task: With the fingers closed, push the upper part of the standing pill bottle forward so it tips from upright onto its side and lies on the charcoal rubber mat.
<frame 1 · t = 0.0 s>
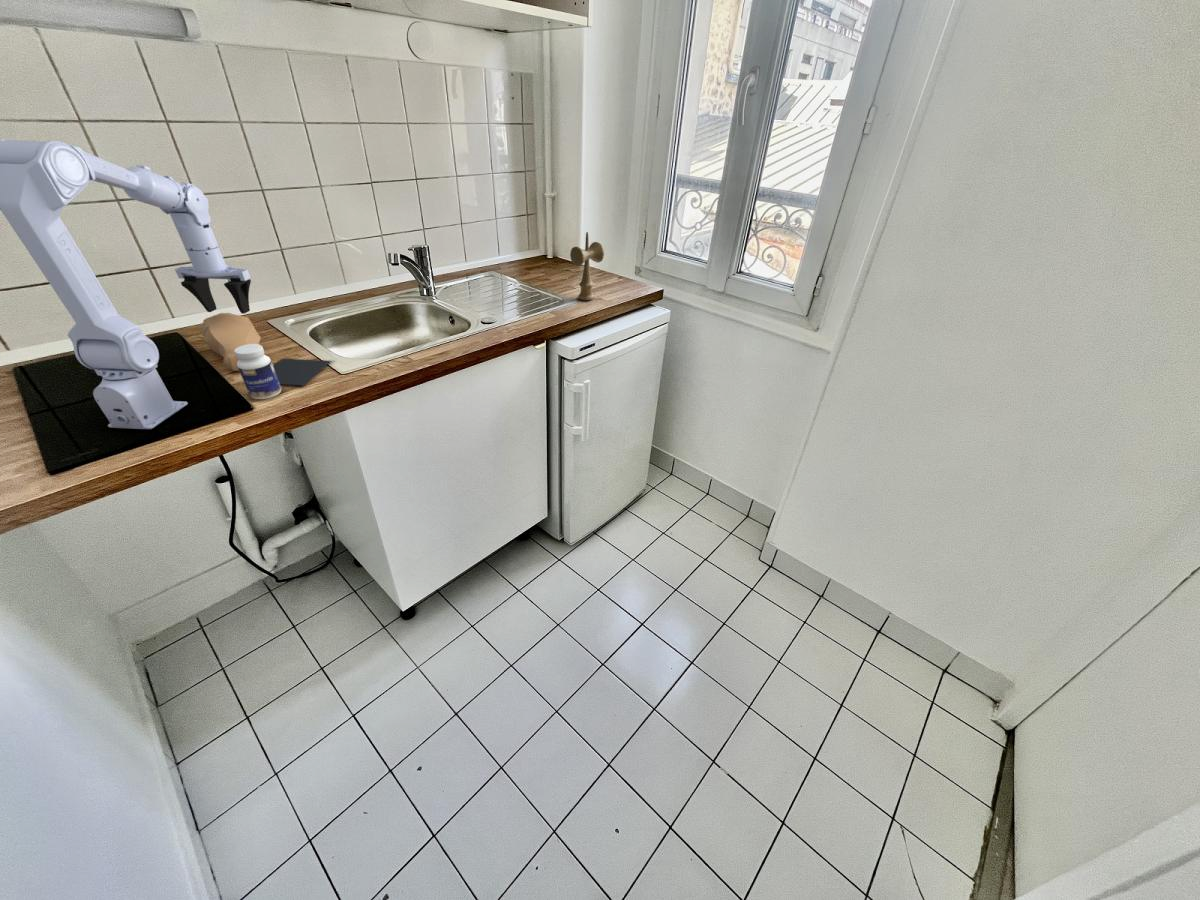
hand: (228, 311, 109), 10 cm above the table, tool pointing down, fingers open, 7 cm apart
kendama: (586, 299, 155), on the table
pill bottle: (267, 394, 100), on the table
squash: (241, 357, 113), on the table
mat: (292, 372, 107), on the table
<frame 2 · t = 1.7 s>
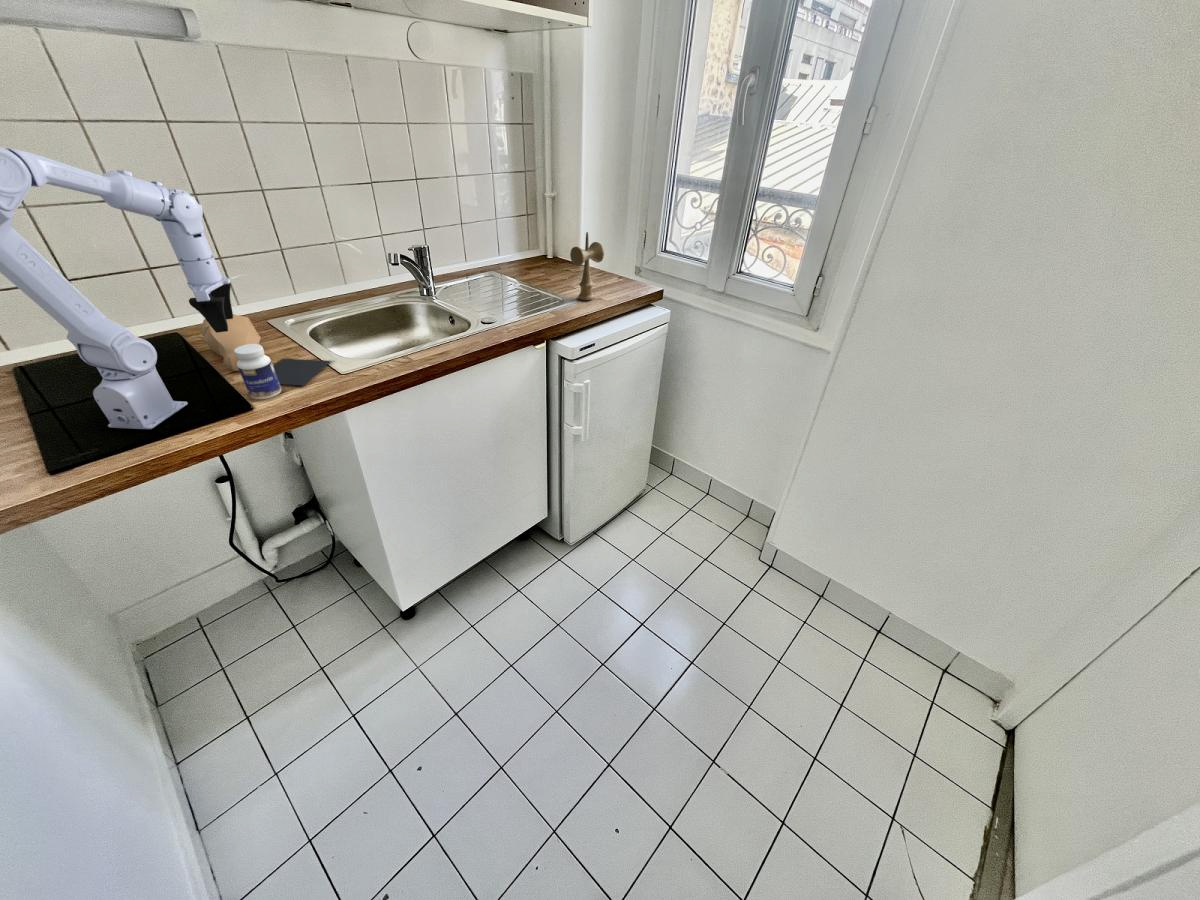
hand: (224, 325, 102), 10 cm above the table, tool pointing down, fingers open, 7 cm apart
nothing on the table moved.
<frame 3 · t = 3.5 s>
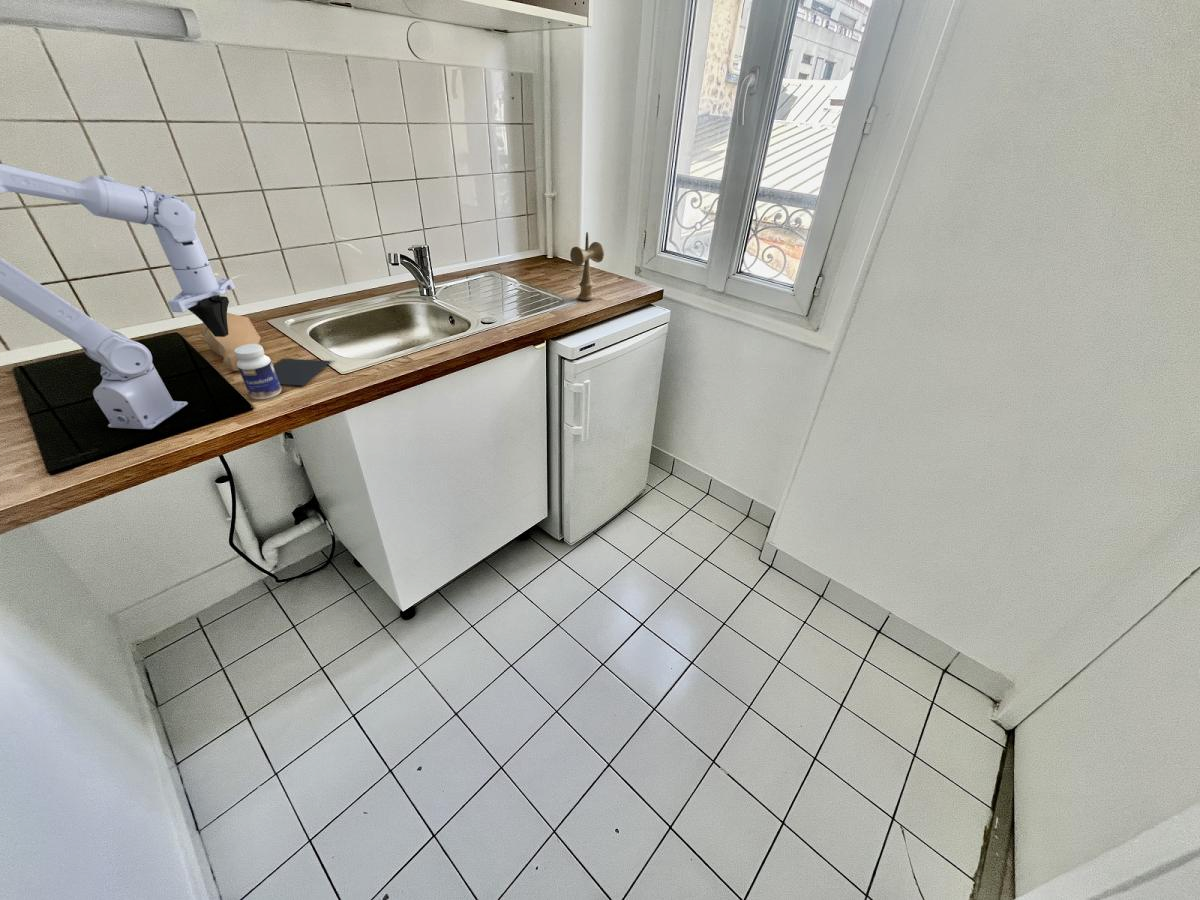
hand: (221, 335, 97), 10 cm above the table, tool pointing down, fingers closed
nothing on the table moved.
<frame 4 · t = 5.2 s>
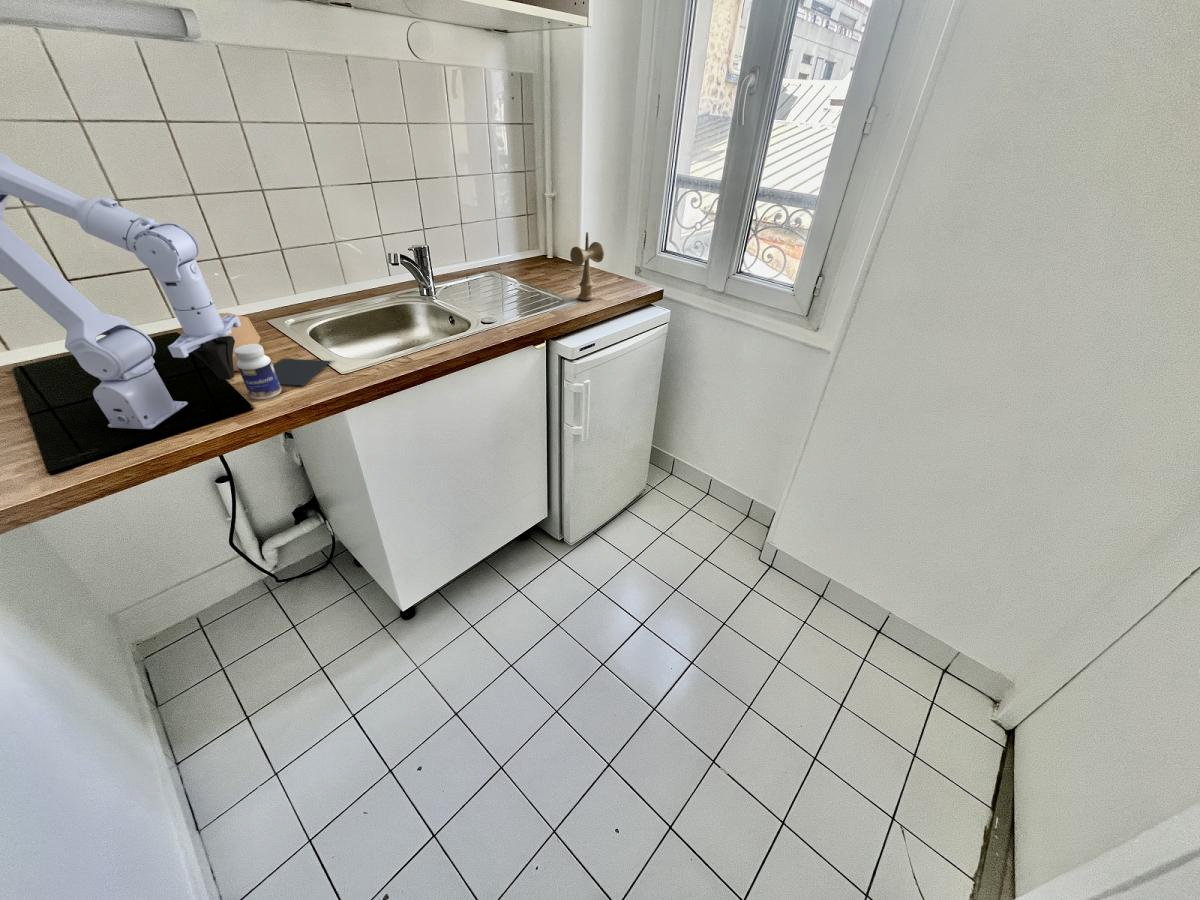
hand: (227, 377, 89), 7 cm above the table, tool pointing down, fingers closed
nothing on the table moved.
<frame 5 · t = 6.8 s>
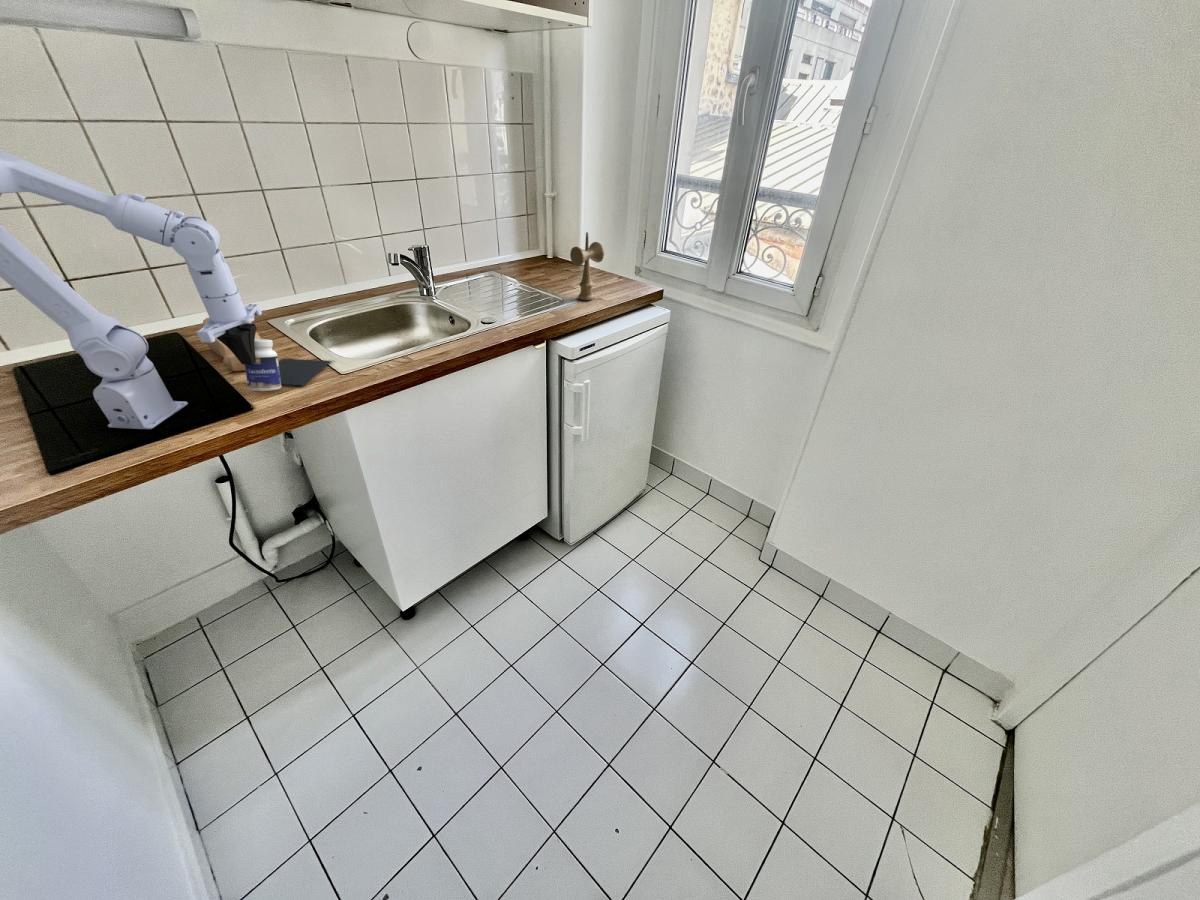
hand: (248, 363, 94), 7 cm above the table, tool pointing down, fingers closed
pill bottle: (265, 390, 99), point 1 cm above the table, touching gripper
everything else where it was.
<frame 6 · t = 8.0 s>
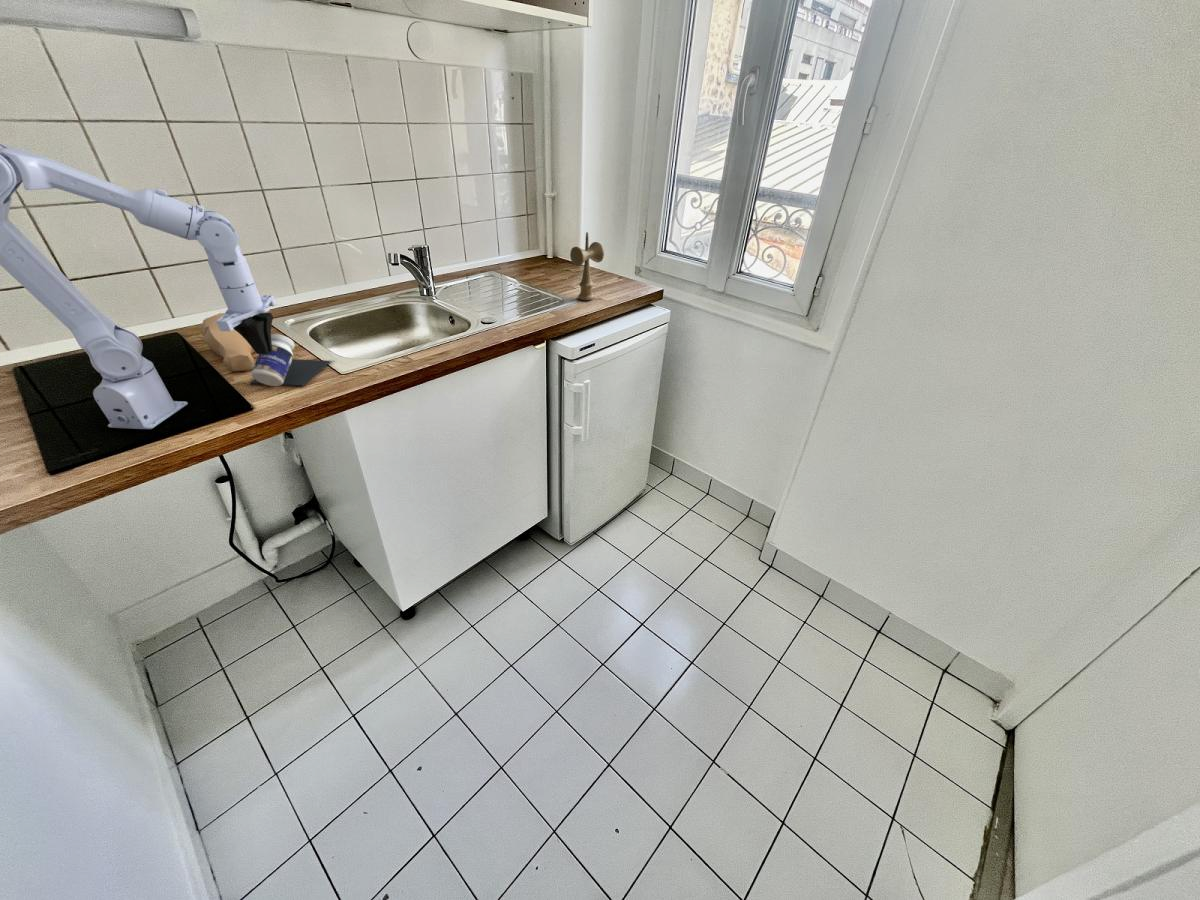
hand: (264, 351, 98), 8 cm above the table, tool pointing down, fingers closed
pill bottle: (266, 380, 99), point 2 cm above the table, touching gripper, mat
everything else where it was.
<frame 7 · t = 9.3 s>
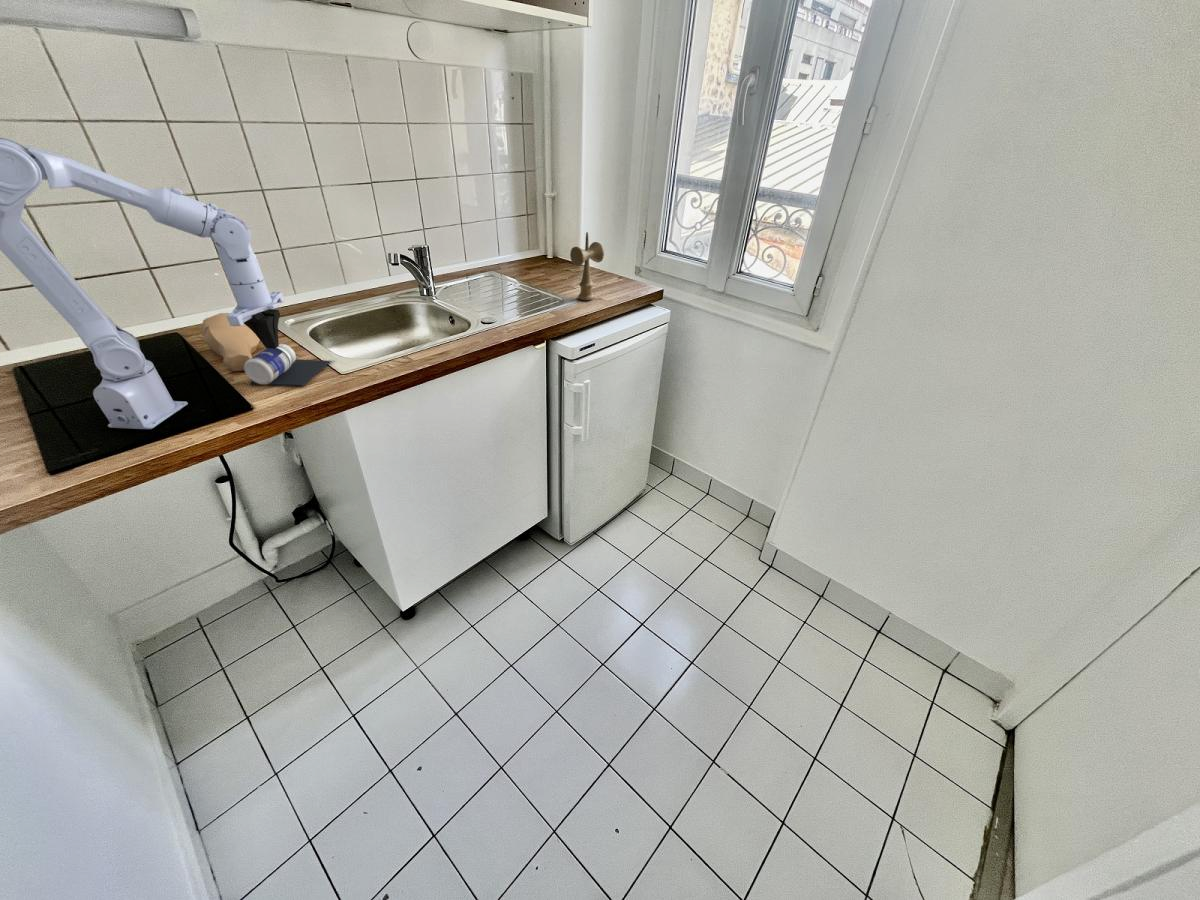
hand: (272, 347, 101), 7 cm above the table, tool pointing down, fingers closed
pill bottle: (256, 373, 100), point 3 cm above the table, touching mat
everything else where it was.
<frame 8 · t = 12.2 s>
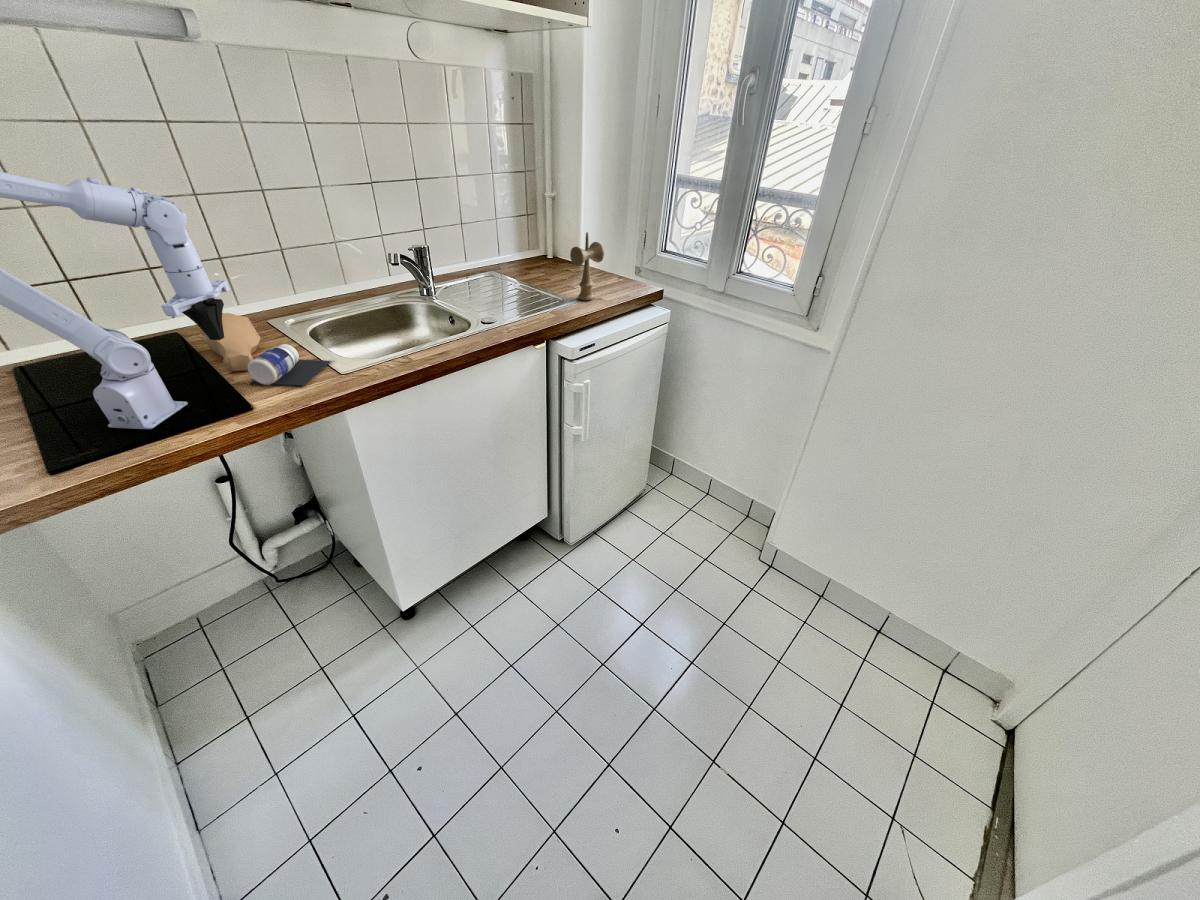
hand: (217, 338, 96), 10 cm above the table, tool pointing down, fingers closed
at the end: pill bottle tilted 91°; pill bottle touching mat; pill bottle inside the target area (5.4 cm from its centre), point 3.3 cm above the table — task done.
